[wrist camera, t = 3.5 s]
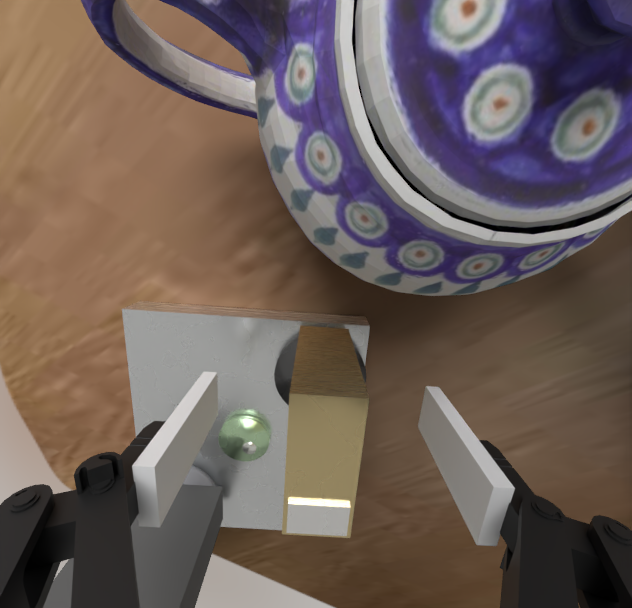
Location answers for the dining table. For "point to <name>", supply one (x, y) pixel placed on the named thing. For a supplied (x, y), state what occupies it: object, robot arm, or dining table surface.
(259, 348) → the plate
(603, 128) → the teapot
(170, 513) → the dark grey block
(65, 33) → the dining table surface
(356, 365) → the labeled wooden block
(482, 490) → the robot arm
